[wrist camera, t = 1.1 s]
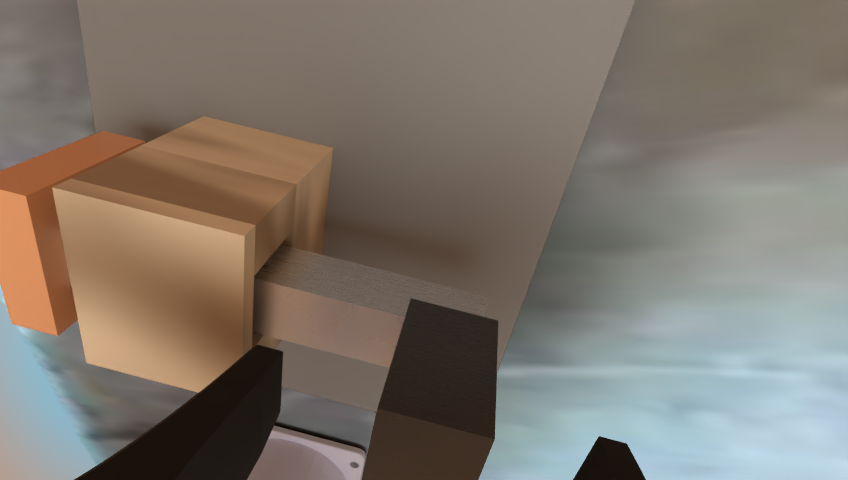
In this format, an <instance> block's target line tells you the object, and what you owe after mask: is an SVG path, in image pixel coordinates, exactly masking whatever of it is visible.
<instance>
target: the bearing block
mask: <svg viewBox="0 0 848 480" xmlns="http://www.w3.org/2000/svg"><path fill="white" fill-rule="evenodd" d="M332 156H333V148H332V147H328V146H324V145H320V144H316V143H312V142H308V141H304V140H299V139H295V138H291V137H287V136H283V135H279V134H275V133H271V132H267V131H263V130H259V129H254V128H250V127H246V126H242V125H238V124H234V123H230V122H226V121H222V120H218V119H214V118H210V117H205V116H203V117H201V118H199V119H196V120H194V121H192V122H190V123H188V124H186V125H184V126H182V127H179V128H177V129H175V130H173V131H171V132H169V133H167V134H164V135H162V136H160V137H158V138H156V139H154V140H152V141H150V142H147V143H145V144H143V145H141V146H139V147H137V148H135V149H133V150H130V151H128V152H126V153H124V154H122V155H120V156H118V157H115V158H113V159H111V160H109V161H107V162H105V163H103V164H101V165H98V166H96V167H94V168H92V169H90V170H88V171H86V172H84V173H81V174H79V175H77V176H75V177H73V178H71V179H69V180H66V181H64V182H62V183H60V184H58V185H56V186H54V187H52V190H53V195H54V200H55V205H56V210H57V215H58V220H59V226H60V231H61V236H62V241H63V246H64V251H65V256H66V261H67V266H68V271H69V276H70V281H71V287H72V292H73V297H74V302H75V307H76V312H77V317H78V322H79V327H80V332H81V337H82V342H83V348H84V353H85V358H86V363H89V364H93V365H97V366H100V367H104V368H108V369H112V370H115V371H119V372H123V373H127V374H130V375H134V376H138V377H142V378H145V379H149V380H153V381H157V382H160V383H164V384H168V385H172V386H175V387H179V388H183V389H187V390H190V391H194V392H198V393H199V392H200V391H201V390H203V389H204V388H205V387H206V386H208V385H209V384H210V383H211V382H212V381H214V380H215V379H216V378H217V377H219V376H220V375H221V374H222V373H223V372H225V371H226V370H227V369H228V368H229V367H230V366H232V365H233V364H234V363H235V362H236V361H237V360H239V359H240V358H241V357H242V356H243V355H244V354H245V353H247V352H248V351H249V350H250V349H251V348H252V347H254V346H256V345H261V346H265V347H269V348H272V349H276V348H277V346H278V345H279V343H280V342H281V339H277V338H273V337H269V336H265V335H261V334H258V333H254V332H252V329H253V295H254V276H255V274H256V273H257V272H258V271H259V270H260V268H261V267H262V266H263V265H264V264H265V263H266V261H267V260H268V259H269V258H270V257H271V255H272V254H273V253H274V252H275V251H276V249H277V248H278V247H279V246H280V245H281V244H282V245H286V246H290V247H294V248H298V249H302V250H306V251H310V252H314V253H318V254H321V255H322V247H323V238H324V229H325V219H326V210H327V201H328V192H329V183H330V174H331V165H332Z"/></svg>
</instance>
